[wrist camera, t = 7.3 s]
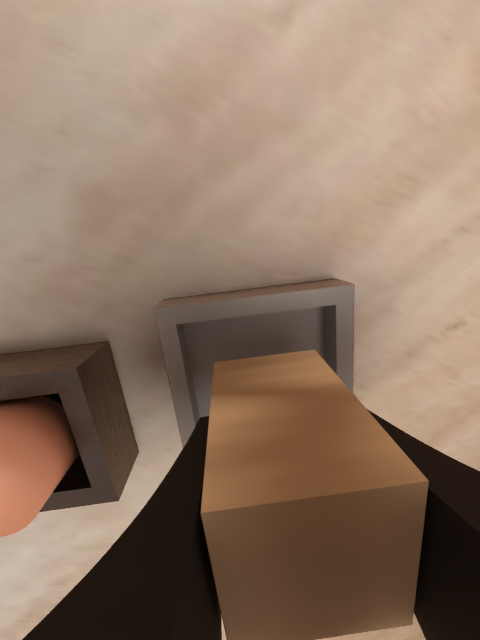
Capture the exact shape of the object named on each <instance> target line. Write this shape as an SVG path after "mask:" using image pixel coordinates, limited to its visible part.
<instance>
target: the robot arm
mask: <svg viewBox="0 0 480 640" xmlns="http://www.w3.org/2000/svg"><path fill="white" fill-rule="evenodd" d="M368 411H369V410H368ZM369 413H370V414H371V415H372V416H373V417H374V418H375V420H376V421H377V422H378V423H379V424H380V425H381V426H382V428H383V429H384V430H385V431H386V432H387V433H388V435H389V436H390V437H391V438H392V439H393V440H394V441H395V443H396V444H397V445H398V446H399V447H400V448H401V449H402V451H403V452H404V453H405V454H406V455H407V456H408V458H409V459H410V460H411V461H412V462H413V463H414V464H415V466H416V467H417V468H418V469H419V470H420V471H421V473H422V474H423V475H424V476H425V477H426V478H427V479H428V481H429V484H428V493H427V501H426V510H425V518H424V527H423V536H422V544H421V553H420V562H419V570H418V579H417V587H416V596H415V605H414V613H415V616H416V618H417V620H418V622H419V625H420V627H421V629H422V631H423V634H424V636H425V638H426V640H480V471H478V470H476V469H473V468H471V467H469V466H467V465H465V464H463V463H461V462H459V461H457V460H455V459H453V458H451V457H449V456H447V455H445V454H443V453H441V452H439V451H438V450H436V449H434V448H432V447H430V446H428V445H426V444H425V443H423V442H421V441H419V440H417V439H416V438H414V437H412V436H410V435H409V434H407V433H405V432H404V431H402V430H400V429H398V428H397V427H395V426H393V425H392V424H390V423H388V422H387V421H385V420H384V419H382V418H380V417H379V416H377V415H376V414H374V413H372V412H371V411H369ZM208 426H209V416H205V417H201V418H200V419H199V420H198V422H197V424H196V426H195V428H194V430H193V432H192V434H191V435H190V437H189V439H188V441H187V443H186V444H185V446H184V448H183V450H182V451H181V453H180V454H179V456H178V458H177V459H176V461H175V463H174V464H173V466H172V468H171V469H170V471H169V472H168V474H167V475H166V476H165V478H164V479H163V481H162V482H161V484H160V485H159V487H158V488H157V490H156V491H155V493H154V494H153V495H152V497H151V498H150V499H149V501H148V502H147V504H146V505H145V506H144V508H143V509H142V510H141V511H140V513H139V514H138V515H137V517H136V518H135V519H134V520H133V522H132V523H131V524H130V525H129V527H128V528H127V529H126V530H125V531H124V533H123V534H122V535H121V536H120V537H119V538H118V540H117V541H116V542H115V543H114V544H113V545H112V547H111V548H110V549H109V550H108V551H107V552H106V554H105V555H104V556H103V557H102V558H101V559H100V560H99V562H98V563H97V564H96V565H95V566H94V567H93V568H92V569H91V570H90V571H89V573H88V574H87V575H86V576H85V577H84V578H83V579H82V580H81V581H80V582H79V583H78V584H77V585H76V586H75V587H74V588H73V589H72V590H71V591H70V592H69V593H68V594H67V595H66V596H65V597H64V598H63V599H62V601H61V602H60V603H59V604H58V605H57V606H56V607H55V608H54V609H53V610H52V611H51V612H50V613H49V614H48V615H47V616H46V617H45V618H44V619H43V620H42V621H41V622H40V623H39V624H38V625H37V626H36V627H35V628H34V629H33V630H32V631H31V632H30V633H29V634H27V635H26V636H25V637H24V638H23V639H22V640H222V632H221V609H220V604H219V599H218V595H217V590H216V585H215V580H214V575H213V570H212V566H211V561H210V556H209V551H208V546H207V541H206V537H205V532H204V527H203V522H202V517H201V504H202V493H203V482H204V470H205V459H206V448H207V437H208Z"/></svg>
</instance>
